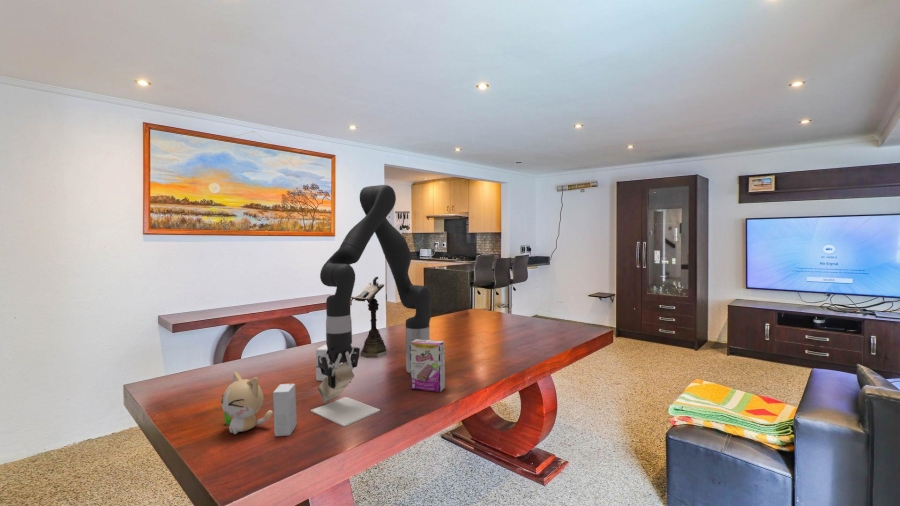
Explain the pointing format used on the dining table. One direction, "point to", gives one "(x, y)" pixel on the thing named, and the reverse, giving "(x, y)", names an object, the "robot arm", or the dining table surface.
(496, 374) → the dining table surface
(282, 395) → the skincare box
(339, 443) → the dining table surface
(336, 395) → the birch block
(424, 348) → the candy bar box
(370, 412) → the mat
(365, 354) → the book lectern
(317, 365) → the ink box
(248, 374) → the dining table surface
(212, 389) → the dining table surface
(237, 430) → the kitten
